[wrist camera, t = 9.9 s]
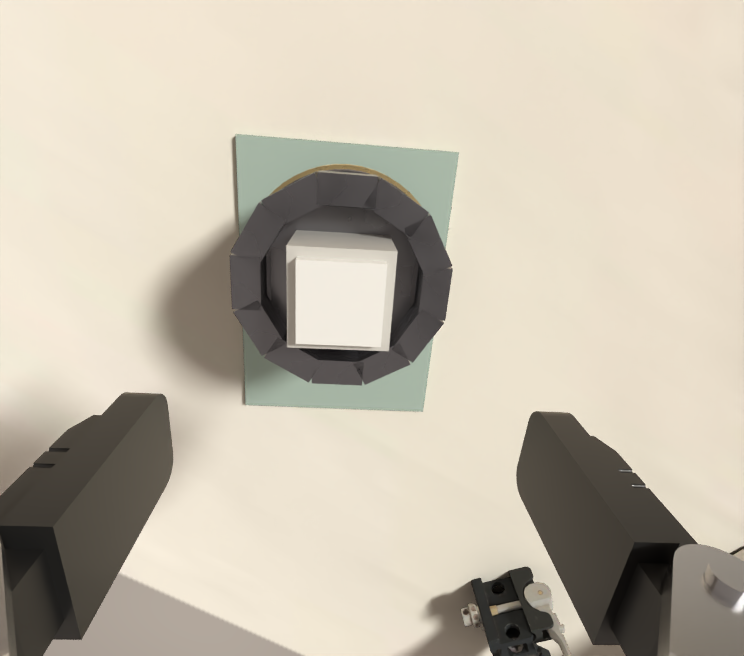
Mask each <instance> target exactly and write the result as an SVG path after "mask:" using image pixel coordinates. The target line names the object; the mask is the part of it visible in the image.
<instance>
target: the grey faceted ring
mask: <svg viewBox="0 0 744 656" xmlns="http://www.w3.org/2000/svg"><path fill="white" fill-rule="evenodd" d="M296 230H304V231H321V232H339V233H356V234H374V235H390V237H391V239H392V241H393V243H394V245H395V247H396V249H397V251H398V253H397V264H396V276H395V287H394V298H393V310H392V321H391V333H390V344H389V351H368V350H342V349H316V348H290V347H287V269H286V245H287V244H288V242H289V241H290V239H291V238H292V236H293V234H294V233H295V231H296ZM231 253H232V254H230V272H231V294H232V309H235V310H234V314H235V316H236V317H237V319H238V320H239V322H240V323H241V325H242V326H243V328H244V329H245V331H246V332H247V334H248V336H249V337H250V339H251V340H252V342H253V343H254V345H255V346H256V348H257V349H258V351H259V352H260V354H261V356H263V355H265V357H264V358H265V359H267V360H269V361H270V362H272V363H274V364H276V365H278V366H280V367H281V368H283V369H285V370H287V371H289V372H290V373H292V374H294V375H296V376H298V377H299V378H301V379H303V380H305V381H307V382H308V383H309V382H310V380H311V379H312V384H336V385H360V386H362V381H363V382H364V384H365V385H366V384H368V383H371V382H373V381H375V380H377V379H379V378H382V377H384V376H386V375H388V374H391V373H393V372H395V371H397V370H400V369H402V368H404V367H406V366H409V365H411V364H410V361H411V362H412V363H413V362H414V361H415V359H416V358H417V357H418V356H419V354H420V353H421V352H422V351H423V349H424V348H425V347H426V345H427V344H428V343H429V342H430V340H431V339H432V338H433V336H434V335H435V334H436V333H437V331H438V330H439V329H440V328H441V326H442V325H443V324H444V322H443V321H442V320H445V318H446V311H447V304H448V297H449V291H450V284H451V277H452V270H453V269H452V268H451V266H452V264H451V262H450V259H449V257H448V254H447V252H446V250H445V247H444V245H443V242H442V240H441V238H440V235H439V233H438V230H437V228H436V226H435V223H434V221H433V218H432V216H431V215H430V214H429V212H428V211H427V210H425V209H424V208H423V207H422V206H421V205H420V203H419V202H418V201H417V200H416V199H415V198H414V196H413V195H412V194H411V193H410V192H409V191H408V190H406V189H405V188H404V187H403V186H402V185H400V184H399V183H398V182H396V181H395V180H393V179H391V178H390V177H388V176H387V175H385V174H382V173H380V172H378V171H376V170H373V169H370V168H366V167H363V166H358V165H351V164H331V165H323V166H319V167H315V168H312V169H308V170H306V171H304V172H302V173H299V174H297V175H295V176H293V177H292V178H290V179H288V180H287V181H285V182H284V183H282V184H281V185H280V186H279V187H277V188H276V189H275V190H274V191H273V192H272V193H271V194H270V195H269V196H268V197H266V198H264V199H262V200H261V202H259V203H258V205H257V206H256V208H255V210H254V212H253V213H252V215H251V217H250V219H249V220H248V222H247V224H246V226H245V227H244V229H243V231H242V233H241V234H240V236H239V238H238V240H237V241H236V243H235V245H234V247H233V248H232V250H231Z"/></svg>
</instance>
